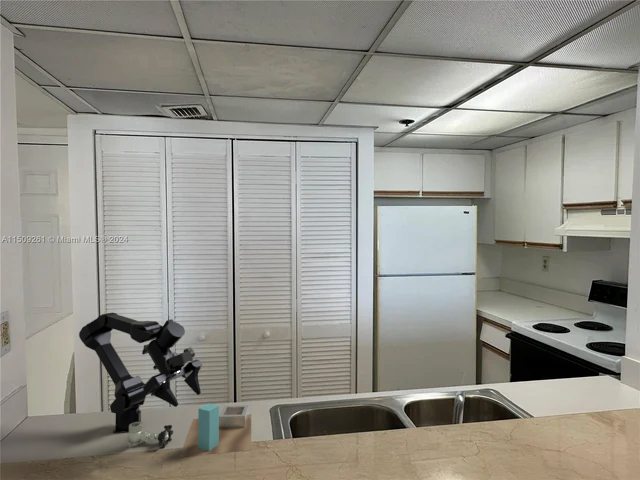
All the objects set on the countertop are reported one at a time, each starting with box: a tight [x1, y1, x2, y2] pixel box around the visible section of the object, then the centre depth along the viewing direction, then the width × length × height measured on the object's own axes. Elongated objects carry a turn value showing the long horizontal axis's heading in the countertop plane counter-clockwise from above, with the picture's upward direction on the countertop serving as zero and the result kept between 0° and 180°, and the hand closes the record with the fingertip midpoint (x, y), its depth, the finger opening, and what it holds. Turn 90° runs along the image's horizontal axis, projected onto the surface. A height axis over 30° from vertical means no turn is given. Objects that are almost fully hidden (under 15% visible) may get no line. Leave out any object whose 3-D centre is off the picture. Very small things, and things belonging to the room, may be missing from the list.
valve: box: [126, 421, 174, 450], centre depth 106 cm, size 7×7×12 cm
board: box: [179, 413, 252, 458], centre depth 112 cm, size 19×23×1 cm
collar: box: [219, 404, 250, 428], centre depth 120 cm, size 8×8×4 cm
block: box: [197, 402, 220, 451], centre depth 105 cm, size 4×4×11 cm
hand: (188, 399), depth 108 cm, fingers open, 9 cm apart
